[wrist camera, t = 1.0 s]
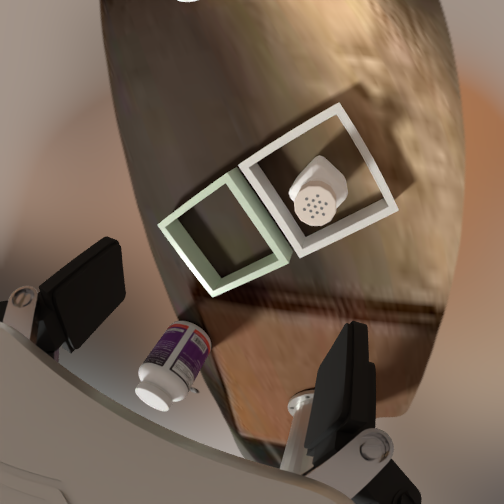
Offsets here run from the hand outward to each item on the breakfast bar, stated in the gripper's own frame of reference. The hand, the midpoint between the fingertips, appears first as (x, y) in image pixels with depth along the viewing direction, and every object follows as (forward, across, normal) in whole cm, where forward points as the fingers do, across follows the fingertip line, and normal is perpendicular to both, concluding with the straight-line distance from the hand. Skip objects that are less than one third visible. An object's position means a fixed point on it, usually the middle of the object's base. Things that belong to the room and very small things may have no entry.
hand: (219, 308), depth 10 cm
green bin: (+22, +6, +9) cm, 24 cm away
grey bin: (+22, -3, 0) cm, 22 cm away
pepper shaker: (+22, -3, 0) cm, 22 cm away
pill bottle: (+22, +10, +30) cm, 38 cm away
